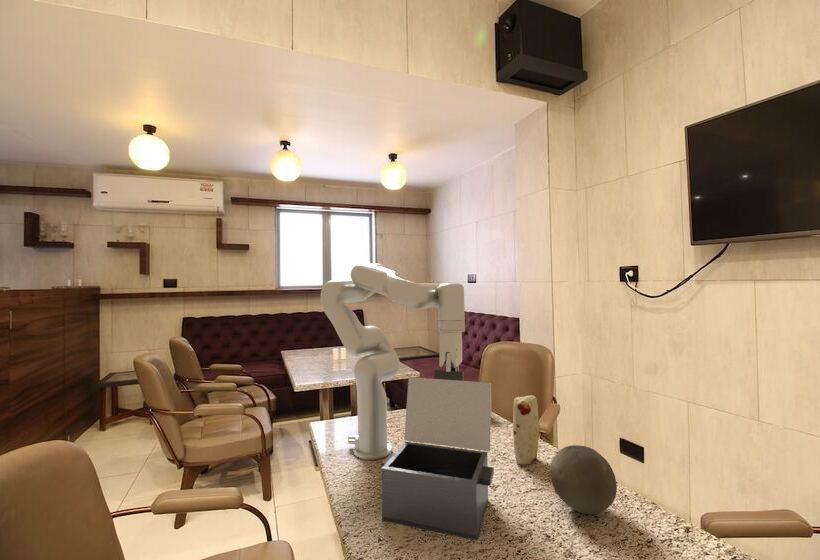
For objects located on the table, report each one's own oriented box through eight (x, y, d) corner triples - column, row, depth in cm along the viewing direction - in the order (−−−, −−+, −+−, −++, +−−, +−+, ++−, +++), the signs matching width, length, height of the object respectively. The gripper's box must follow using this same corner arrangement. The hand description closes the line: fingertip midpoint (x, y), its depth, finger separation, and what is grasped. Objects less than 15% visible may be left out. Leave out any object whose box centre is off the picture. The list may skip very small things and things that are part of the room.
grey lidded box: (373, 518, 89) (372, 466, 89) (398, 484, 104) (397, 440, 104) (487, 542, 80) (486, 484, 80) (497, 501, 95) (496, 453, 95)
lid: (409, 368, 109) (410, 368, 110) (404, 440, 104) (405, 439, 105) (490, 373, 101) (491, 373, 102) (489, 451, 96) (490, 450, 97)
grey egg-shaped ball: (562, 489, 100) (561, 432, 101) (622, 509, 91) (621, 445, 92) (542, 515, 89) (541, 450, 90) (609, 539, 80) (607, 468, 81)
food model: (526, 470, 111) (525, 401, 111) (507, 462, 116) (506, 396, 117) (545, 460, 117) (543, 395, 118) (526, 453, 122) (524, 390, 123)
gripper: (445, 323, 118) (446, 383, 118) (432, 328, 104) (433, 396, 103) (469, 323, 115) (470, 384, 115) (459, 329, 101) (460, 398, 101)
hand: (452, 390), depth 109 cm, fingers closed
